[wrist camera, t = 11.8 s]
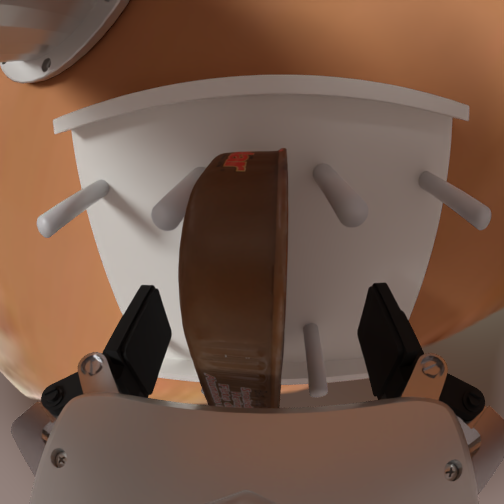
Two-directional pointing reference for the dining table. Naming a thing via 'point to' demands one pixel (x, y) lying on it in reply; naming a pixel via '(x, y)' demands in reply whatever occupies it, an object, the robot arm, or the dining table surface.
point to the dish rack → (299, 197)
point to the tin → (237, 277)
